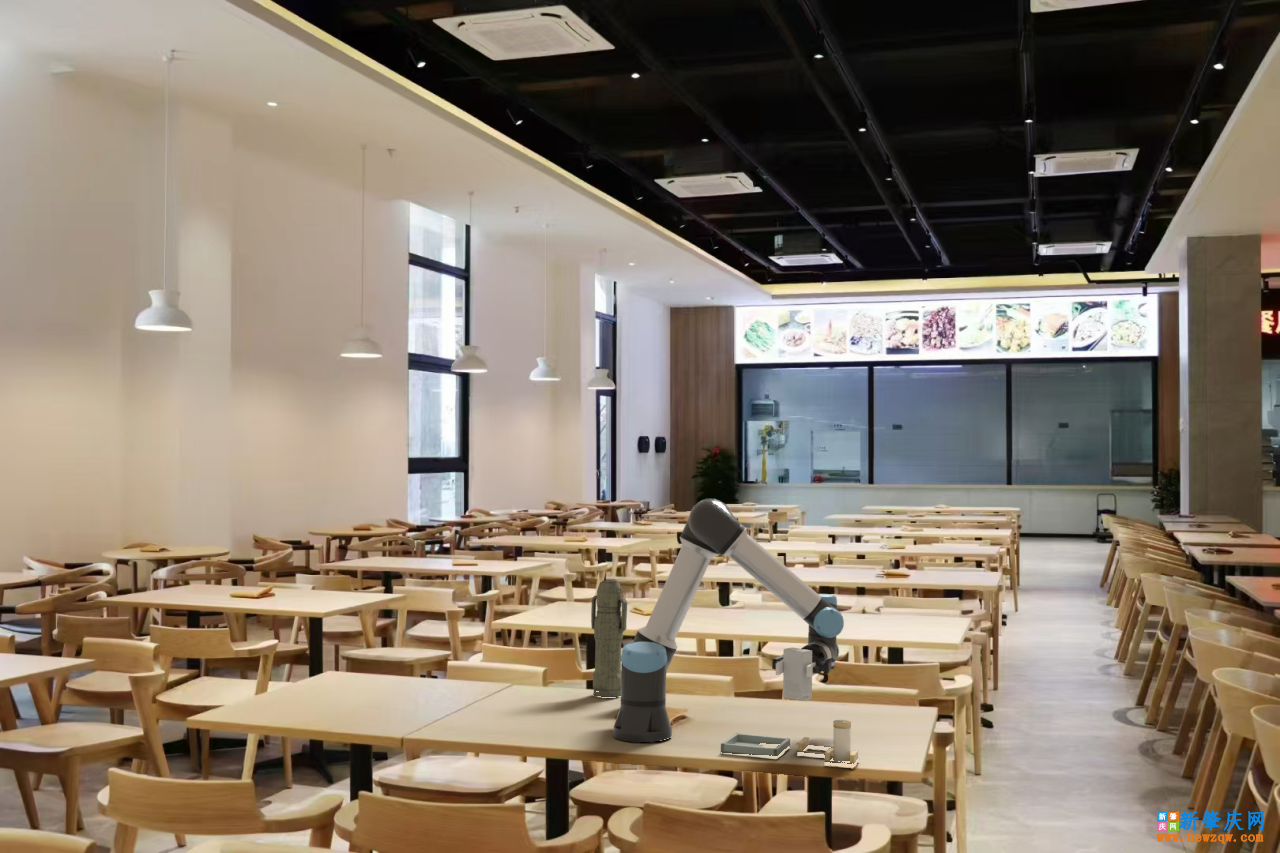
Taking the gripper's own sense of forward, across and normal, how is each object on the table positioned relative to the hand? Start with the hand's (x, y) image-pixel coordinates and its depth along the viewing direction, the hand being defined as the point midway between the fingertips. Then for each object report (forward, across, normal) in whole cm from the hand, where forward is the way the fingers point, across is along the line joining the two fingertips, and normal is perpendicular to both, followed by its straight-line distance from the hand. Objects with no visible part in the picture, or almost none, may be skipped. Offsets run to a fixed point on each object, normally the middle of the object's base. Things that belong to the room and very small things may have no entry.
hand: (792, 670), depth 278 cm
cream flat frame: (-3, -8, -21) cm, 23 cm away
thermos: (-53, +70, -21) cm, 91 cm away
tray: (-2, +9, -21) cm, 23 cm away
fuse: (+2, -13, -21) cm, 24 cm away
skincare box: (-5, 0, -8) cm, 9 cm away
